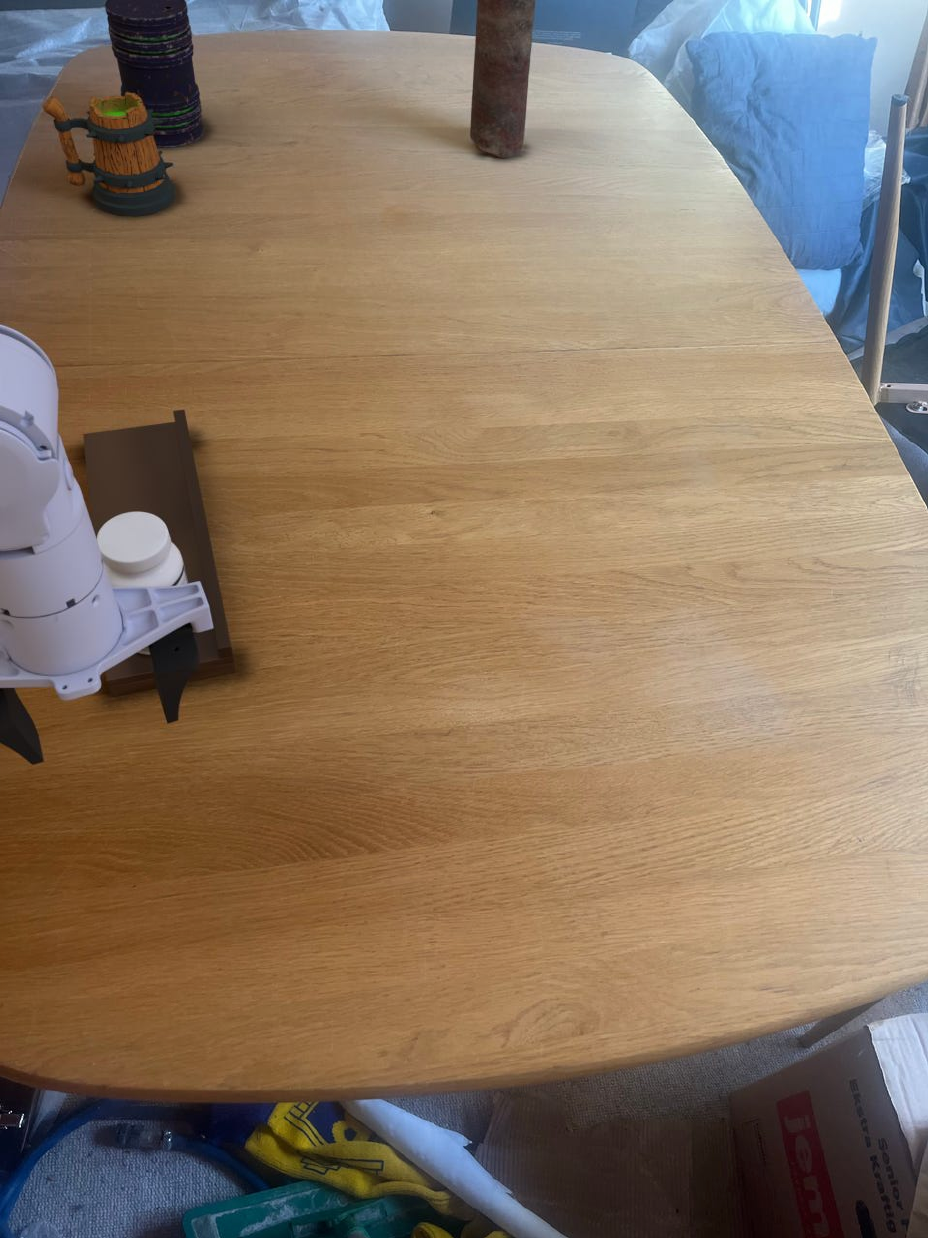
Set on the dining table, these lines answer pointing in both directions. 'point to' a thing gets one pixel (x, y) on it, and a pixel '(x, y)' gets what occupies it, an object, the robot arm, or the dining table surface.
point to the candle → (501, 75)
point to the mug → (118, 155)
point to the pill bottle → (140, 553)
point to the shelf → (168, 488)
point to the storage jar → (158, 64)
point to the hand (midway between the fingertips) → (103, 729)
